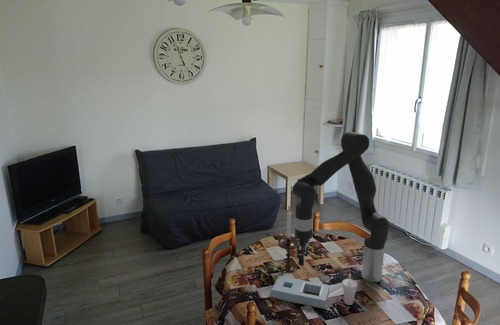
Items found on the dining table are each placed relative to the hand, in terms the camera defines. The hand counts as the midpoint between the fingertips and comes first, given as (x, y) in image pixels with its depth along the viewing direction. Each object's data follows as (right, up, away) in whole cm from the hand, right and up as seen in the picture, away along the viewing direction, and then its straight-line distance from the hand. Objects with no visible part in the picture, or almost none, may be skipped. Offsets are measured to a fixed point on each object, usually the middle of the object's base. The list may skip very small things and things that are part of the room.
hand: (303, 260), depth 152 cm
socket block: (-1, -17, +4) cm, 17 cm away
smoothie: (+20, -18, -1) cm, 27 cm away
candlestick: (-4, -12, +27) cm, 29 cm away
